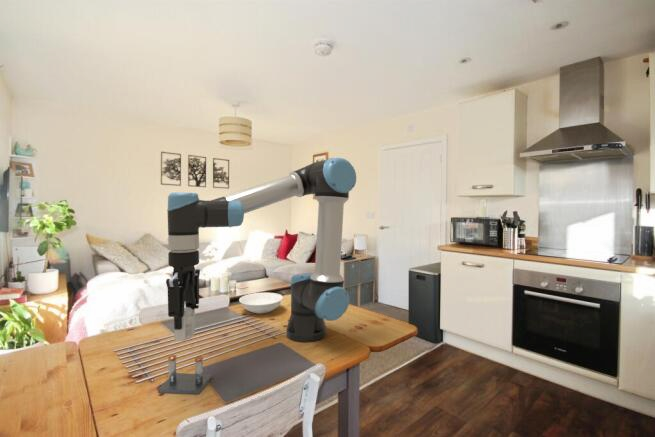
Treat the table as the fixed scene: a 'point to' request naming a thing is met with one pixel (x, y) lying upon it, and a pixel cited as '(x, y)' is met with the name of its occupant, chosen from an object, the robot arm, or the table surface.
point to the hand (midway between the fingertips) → (185, 336)
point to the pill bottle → (189, 323)
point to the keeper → (185, 379)
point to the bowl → (261, 302)
